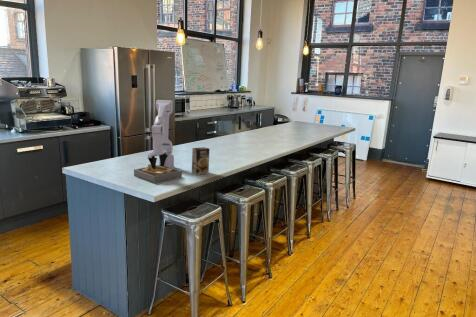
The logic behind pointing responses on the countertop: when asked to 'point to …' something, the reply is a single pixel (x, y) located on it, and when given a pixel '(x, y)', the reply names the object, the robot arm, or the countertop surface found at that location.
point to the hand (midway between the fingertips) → (157, 167)
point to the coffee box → (200, 161)
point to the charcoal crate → (158, 178)
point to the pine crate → (157, 170)
